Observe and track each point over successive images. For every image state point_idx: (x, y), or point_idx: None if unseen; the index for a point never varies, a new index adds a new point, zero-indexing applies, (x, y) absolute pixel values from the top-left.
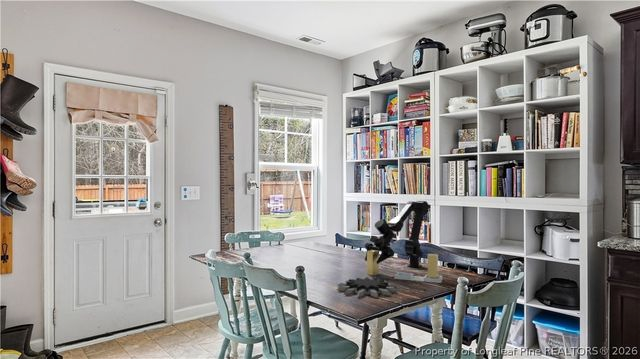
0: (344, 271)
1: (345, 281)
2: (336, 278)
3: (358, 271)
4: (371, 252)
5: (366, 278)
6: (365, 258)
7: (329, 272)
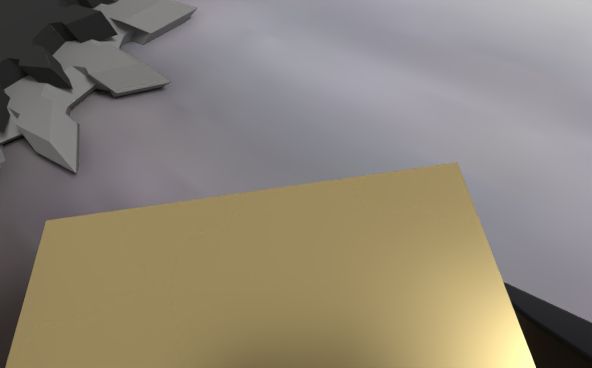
0: (572, 148)
1: (192, 6)
2: (339, 17)
3: (533, 283)
4: (133, 219)
5: (31, 51)
6: (517, 296)
7: (557, 33)
